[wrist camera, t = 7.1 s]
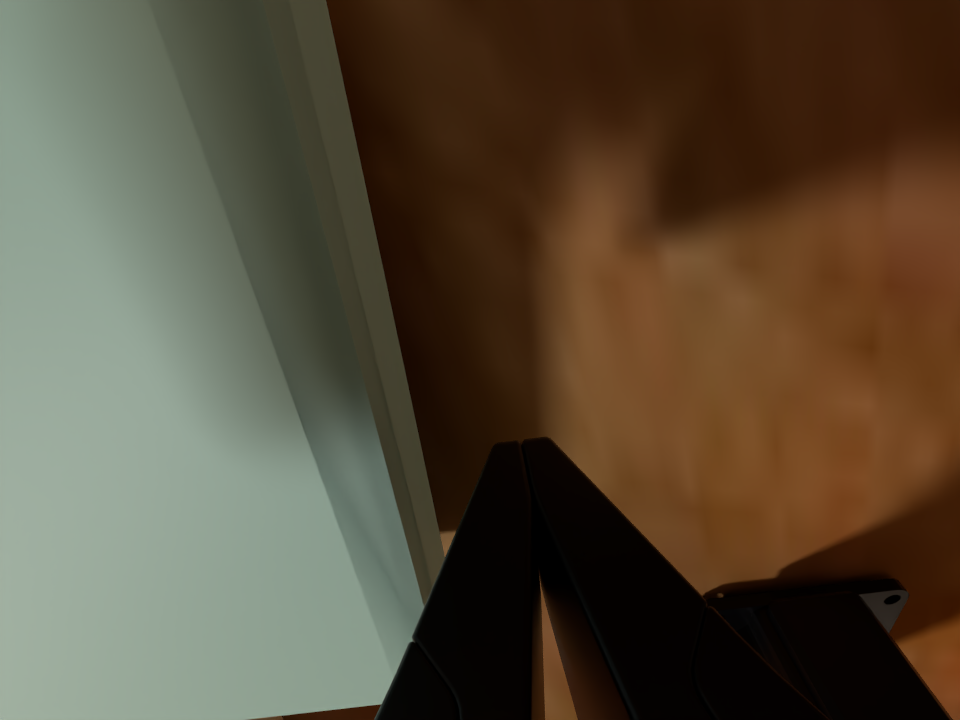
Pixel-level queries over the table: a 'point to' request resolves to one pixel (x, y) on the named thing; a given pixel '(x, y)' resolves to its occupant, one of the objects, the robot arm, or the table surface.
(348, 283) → the lid
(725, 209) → the table surface
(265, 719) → the tan rectangular block
